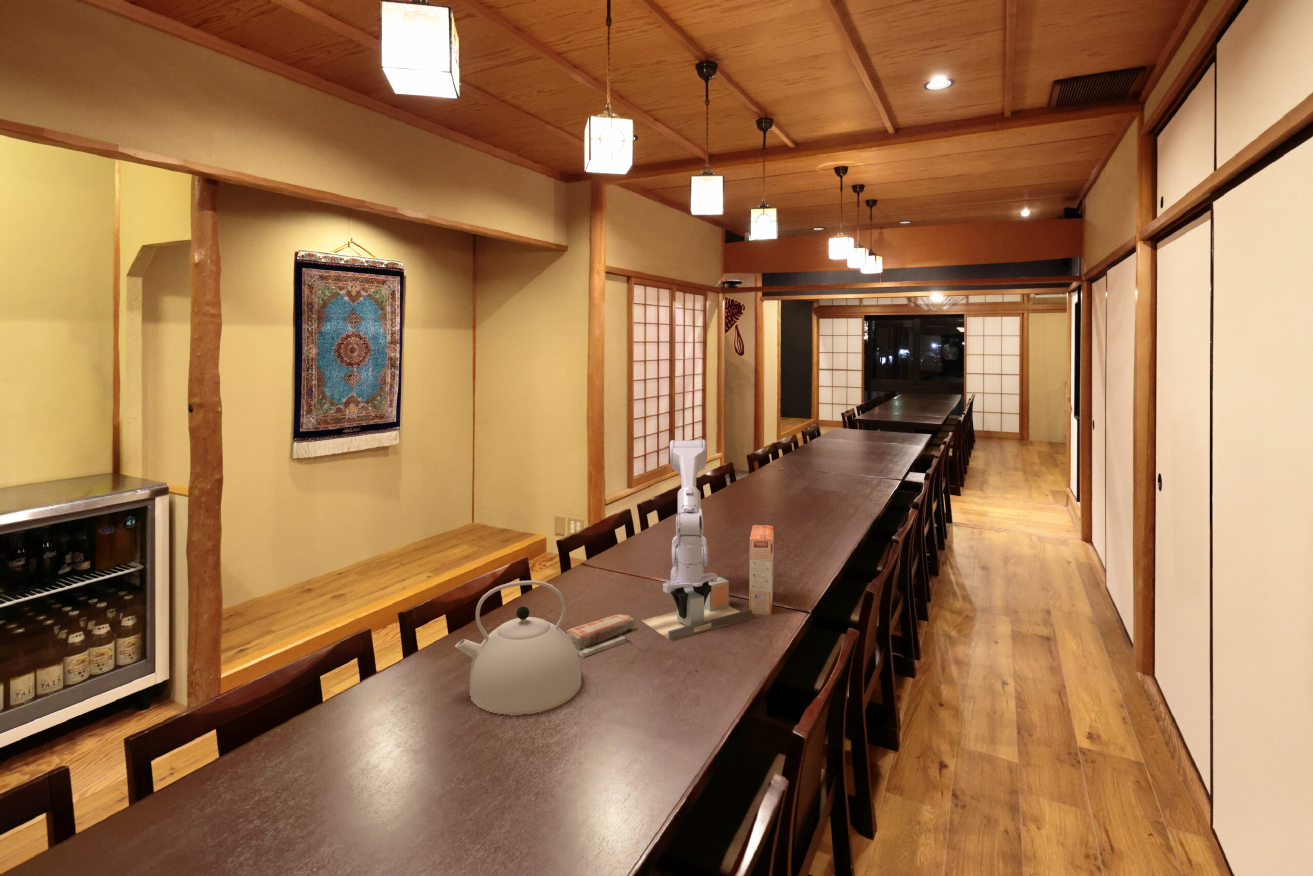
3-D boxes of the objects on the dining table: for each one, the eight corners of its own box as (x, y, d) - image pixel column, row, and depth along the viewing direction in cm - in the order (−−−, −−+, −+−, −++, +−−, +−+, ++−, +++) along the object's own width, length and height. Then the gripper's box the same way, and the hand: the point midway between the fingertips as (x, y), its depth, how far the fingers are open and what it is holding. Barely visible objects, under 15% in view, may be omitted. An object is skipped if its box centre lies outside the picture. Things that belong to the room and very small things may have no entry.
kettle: (456, 726, 125) (448, 609, 122) (459, 670, 147) (452, 570, 144) (589, 705, 131) (585, 594, 128) (573, 655, 153) (569, 559, 150)
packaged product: (581, 639, 150) (558, 626, 158) (582, 660, 151) (559, 646, 159) (644, 618, 162) (619, 606, 169) (645, 637, 162) (620, 625, 170)
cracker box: (772, 619, 170) (772, 539, 167) (748, 618, 171) (748, 538, 169) (774, 599, 184) (774, 524, 181) (751, 597, 185) (751, 523, 182)
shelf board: (641, 625, 168) (640, 612, 168) (719, 604, 180) (719, 593, 180) (670, 645, 156) (670, 632, 156) (752, 622, 168) (752, 610, 168)
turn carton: (690, 628, 161) (690, 600, 160) (677, 619, 166) (676, 592, 166) (705, 624, 164) (704, 596, 163) (691, 616, 169) (691, 589, 168)
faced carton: (701, 606, 176) (700, 581, 175) (719, 602, 179) (719, 576, 178) (710, 612, 172) (710, 585, 172) (729, 607, 176) (729, 581, 175)
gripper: (673, 571, 156) (674, 627, 158) (724, 560, 163) (724, 613, 165) (657, 563, 162) (659, 617, 164) (707, 553, 169) (708, 604, 171)
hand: (690, 615), depth 165 cm, fingers closed on turn carton, 4 cm apart
